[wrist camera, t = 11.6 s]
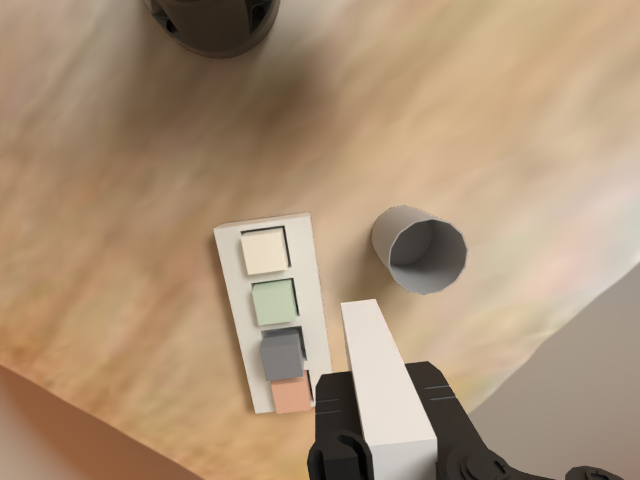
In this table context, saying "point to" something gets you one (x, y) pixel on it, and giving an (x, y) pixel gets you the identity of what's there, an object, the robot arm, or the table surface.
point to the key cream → (264, 251)
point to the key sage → (274, 301)
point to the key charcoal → (282, 355)
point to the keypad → (305, 295)
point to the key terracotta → (292, 394)
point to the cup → (419, 249)
